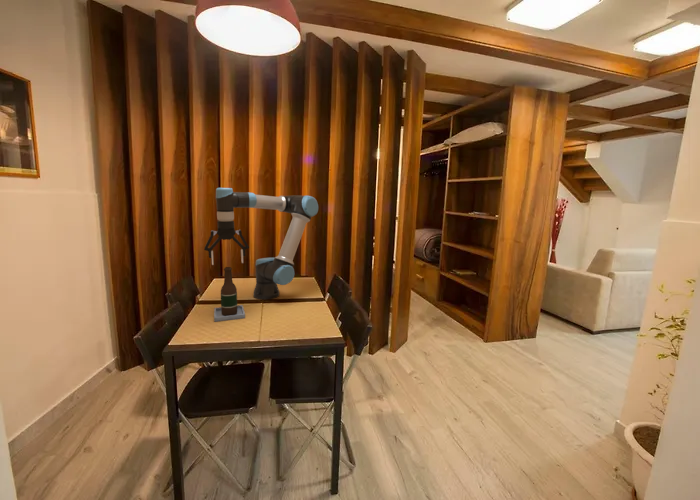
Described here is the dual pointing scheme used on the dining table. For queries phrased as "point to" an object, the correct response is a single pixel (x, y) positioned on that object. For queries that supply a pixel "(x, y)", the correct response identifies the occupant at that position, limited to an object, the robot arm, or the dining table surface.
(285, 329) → the dining table surface
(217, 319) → the tray
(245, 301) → the dining table surface
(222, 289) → the beer bottle
